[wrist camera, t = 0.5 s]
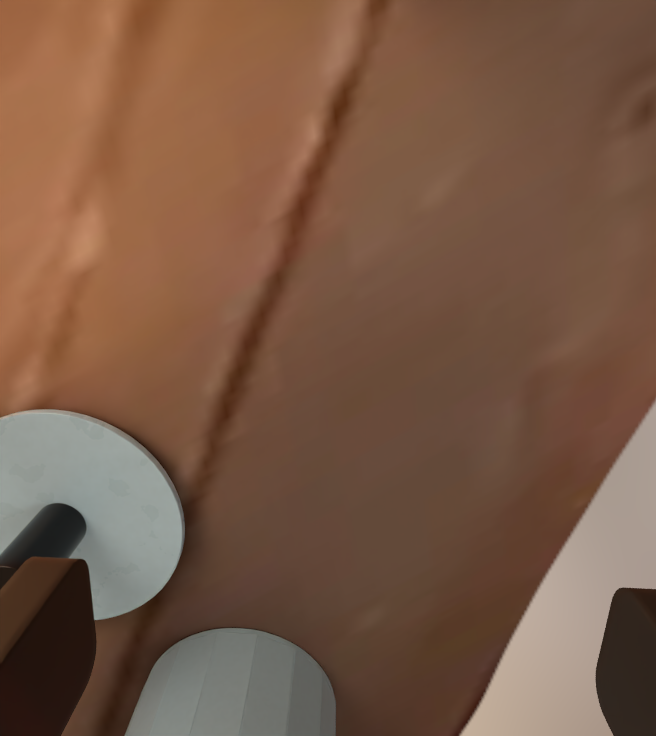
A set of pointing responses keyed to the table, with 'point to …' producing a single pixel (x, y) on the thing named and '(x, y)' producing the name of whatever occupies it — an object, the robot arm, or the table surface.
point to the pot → (235, 689)
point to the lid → (88, 505)
